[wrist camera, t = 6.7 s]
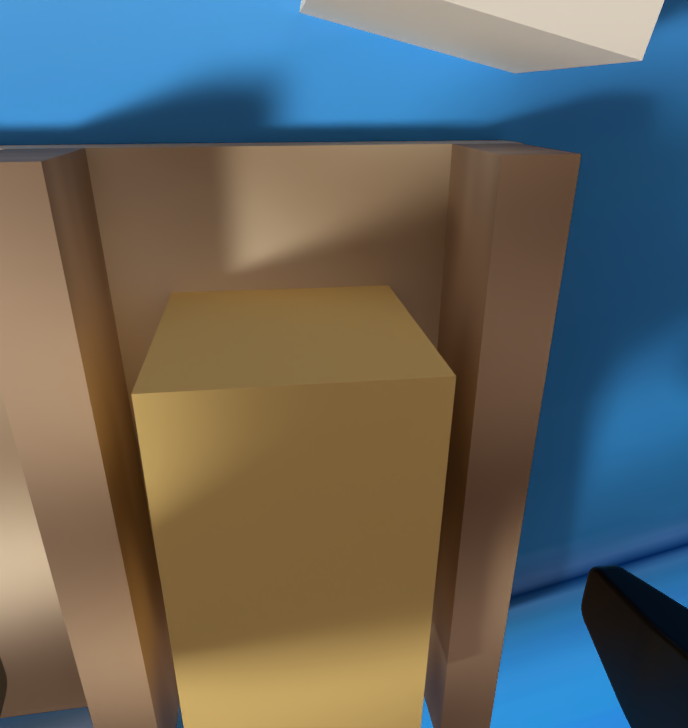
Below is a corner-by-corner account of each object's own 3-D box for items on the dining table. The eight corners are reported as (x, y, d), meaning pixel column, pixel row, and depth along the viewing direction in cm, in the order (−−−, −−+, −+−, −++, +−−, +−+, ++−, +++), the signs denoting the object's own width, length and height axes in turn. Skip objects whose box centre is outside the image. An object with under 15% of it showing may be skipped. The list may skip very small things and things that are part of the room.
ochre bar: (374, 598, 14) (417, 766, 11) (209, 616, 14) (195, 798, 10) (388, 285, 11) (456, 376, 7) (171, 292, 10) (131, 394, 7)
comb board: (452, 632, 16) (492, 737, 14) (-176, 712, 14) (-275, 854, 12) (505, 140, 11) (588, 153, 8) (-492, 150, 9) (-814, 173, 6)
